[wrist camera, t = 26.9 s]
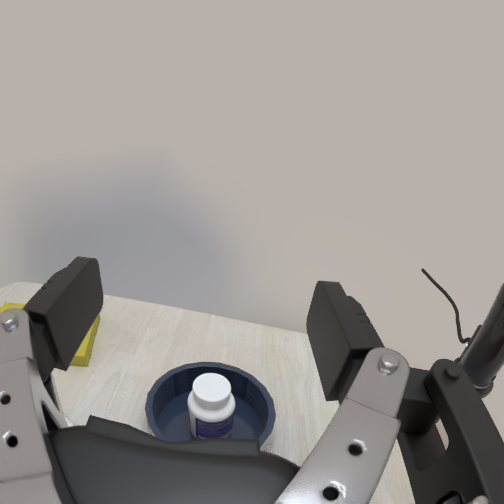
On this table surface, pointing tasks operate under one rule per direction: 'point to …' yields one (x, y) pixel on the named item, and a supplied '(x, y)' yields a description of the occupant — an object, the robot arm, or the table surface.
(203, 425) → the pill bottle
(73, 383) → the table surface
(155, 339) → the table surface
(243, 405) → the pot
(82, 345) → the flat olive board
